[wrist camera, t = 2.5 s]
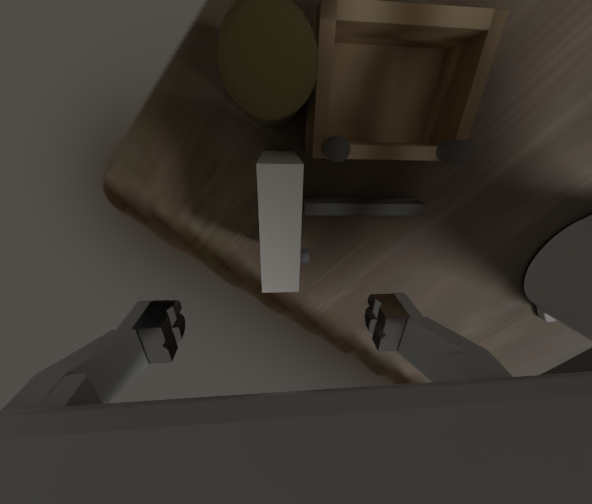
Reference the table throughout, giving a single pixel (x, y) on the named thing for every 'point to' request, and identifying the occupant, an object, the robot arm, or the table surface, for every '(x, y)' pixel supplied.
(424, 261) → the table surface
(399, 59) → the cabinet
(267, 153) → the white rectangular block
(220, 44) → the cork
